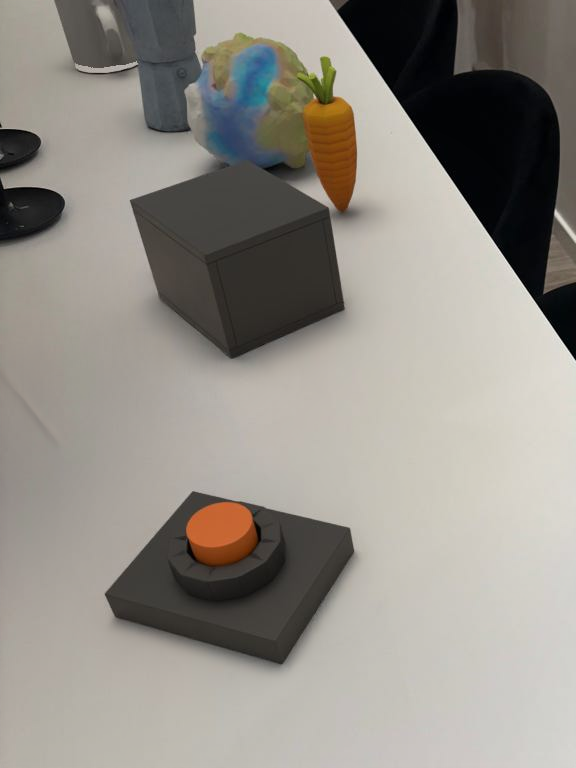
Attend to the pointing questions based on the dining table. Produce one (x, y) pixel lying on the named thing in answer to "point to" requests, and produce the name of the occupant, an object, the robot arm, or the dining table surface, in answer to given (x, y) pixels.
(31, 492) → the dining table surface
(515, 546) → the dining table surface
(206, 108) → the decorative rock
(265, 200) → the dark grey panelled cube
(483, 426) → the dining table surface
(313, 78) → the carrot
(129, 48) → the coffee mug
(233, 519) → the button
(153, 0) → the moka pot
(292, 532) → the control pad
